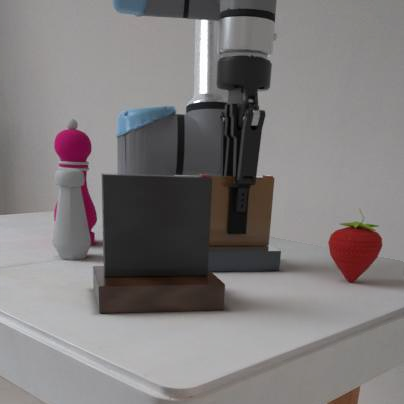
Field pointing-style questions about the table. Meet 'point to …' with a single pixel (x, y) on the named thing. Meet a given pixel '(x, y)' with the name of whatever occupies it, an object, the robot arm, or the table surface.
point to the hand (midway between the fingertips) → (233, 231)
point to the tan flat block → (256, 213)
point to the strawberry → (354, 248)
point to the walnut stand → (157, 293)
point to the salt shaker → (71, 216)
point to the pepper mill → (76, 164)
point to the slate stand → (243, 258)
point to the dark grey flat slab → (156, 224)
